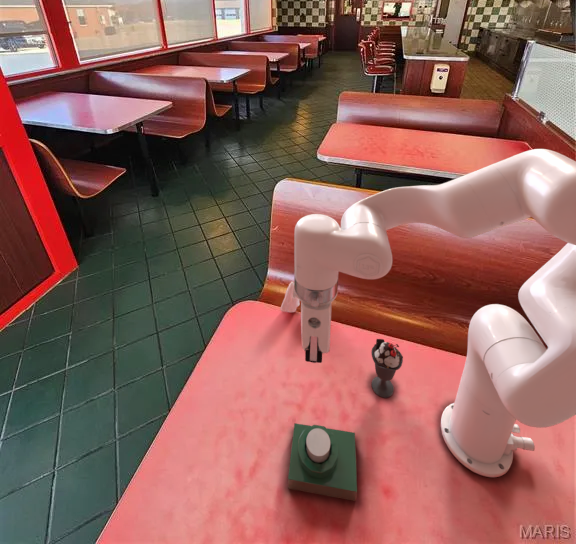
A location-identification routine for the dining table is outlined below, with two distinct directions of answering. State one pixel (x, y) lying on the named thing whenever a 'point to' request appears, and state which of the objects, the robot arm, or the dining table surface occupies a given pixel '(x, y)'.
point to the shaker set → (290, 300)
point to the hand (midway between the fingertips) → (313, 358)
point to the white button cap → (318, 445)
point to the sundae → (385, 366)
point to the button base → (324, 465)
